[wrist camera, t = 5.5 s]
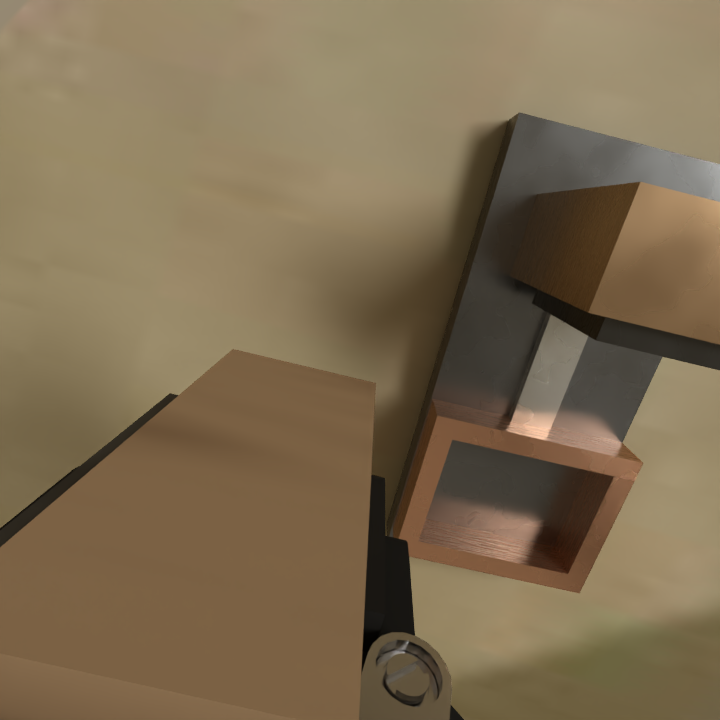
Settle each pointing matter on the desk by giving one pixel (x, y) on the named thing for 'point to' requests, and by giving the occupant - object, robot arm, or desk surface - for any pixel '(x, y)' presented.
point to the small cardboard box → (200, 559)
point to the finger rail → (559, 350)
